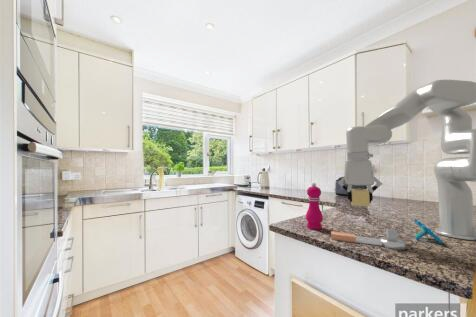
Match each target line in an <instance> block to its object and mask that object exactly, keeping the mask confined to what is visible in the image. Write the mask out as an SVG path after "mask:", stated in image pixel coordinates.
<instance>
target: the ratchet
mask: <svg viewBox="0 0 476 317" xmlns="http://www.w3.org/2000/svg"><path fill="white" fill-rule="evenodd" d="M385 233H386V234H385V235H386V236H380V237H379V238H375V237H369V236H360V235H356V234H355V233H348V232H341V231H334V230H331V232H330V235H331V236H330V237H331V238H330V239H331V240H333V241H334V240H336V241H343V242H349V243H355V244H356V243H357V244H363V245H364V244H366V245H371V246H377V247H378V246H379V247H383V248H386V249H390V250H396V251H404V250H406V241H404V240H402V239H399V238H398V230H396V228H386V229H385Z"/></svg>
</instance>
